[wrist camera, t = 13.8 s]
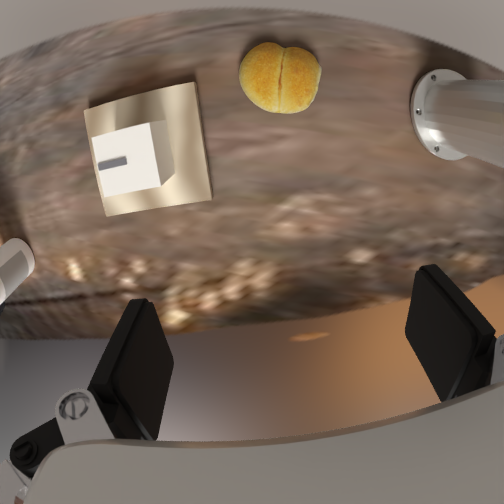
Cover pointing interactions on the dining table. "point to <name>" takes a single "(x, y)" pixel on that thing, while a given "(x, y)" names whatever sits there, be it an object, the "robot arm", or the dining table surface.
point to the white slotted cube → (134, 158)
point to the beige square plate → (180, 137)
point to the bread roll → (280, 77)
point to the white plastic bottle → (14, 265)
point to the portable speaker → (2, 307)
